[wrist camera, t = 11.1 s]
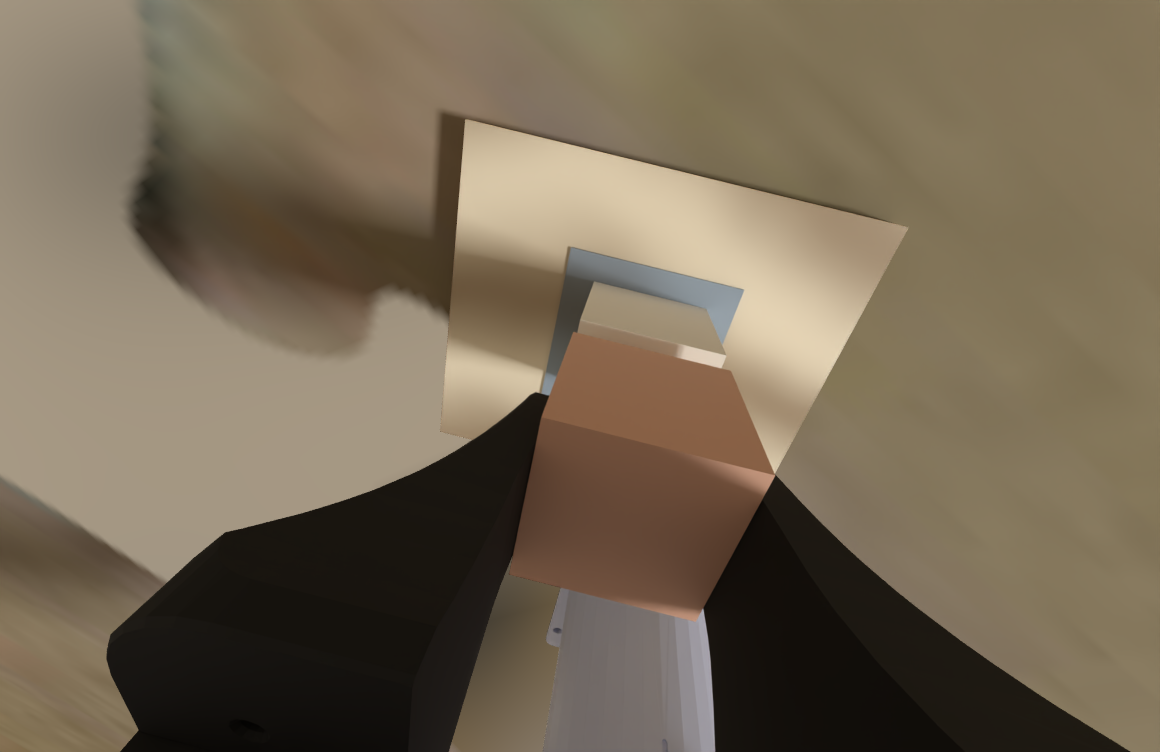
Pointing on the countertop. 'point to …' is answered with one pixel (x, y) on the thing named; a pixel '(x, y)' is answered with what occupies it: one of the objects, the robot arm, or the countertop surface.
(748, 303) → the base board
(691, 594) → the block top
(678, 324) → the block base
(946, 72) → the countertop surface
